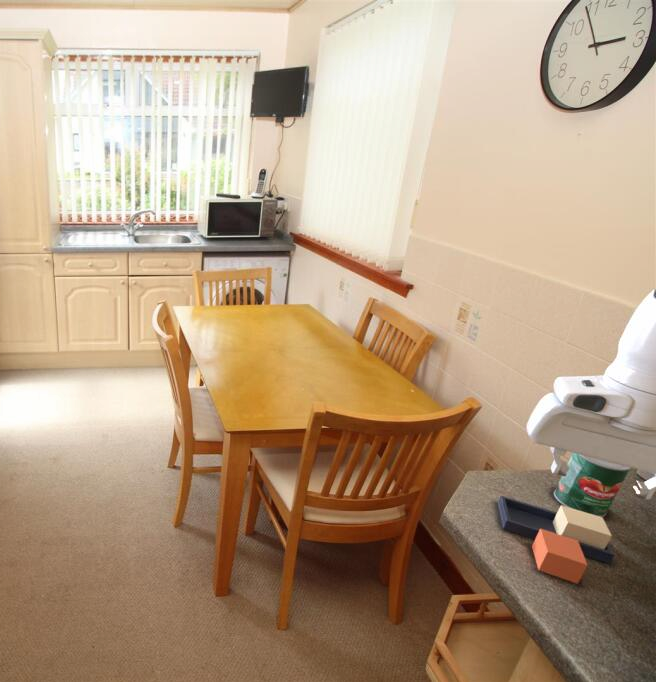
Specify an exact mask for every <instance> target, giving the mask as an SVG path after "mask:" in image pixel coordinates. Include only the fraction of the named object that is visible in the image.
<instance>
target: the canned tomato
mask: <svg viewBox="0 0 656 682" xmlns="http://www.w3.org/2000/svg"><path fill="white" fill-rule="evenodd" d="M567 465H568V466H569V470H568V472H566V476H565V477H564V476H561V477H560V479H559V481H558V484H557V486H556V488H555V490H554V492H553V496H554V498H555V499H556V500H557V502H559V504H561V505H562V506H565V507H569V508H572V509H576V510H579V511H582V512H586V513H589V514H593V515H596V516H599V517H602V518H604V517H605V516H606V515H607V513H608V511H609V509H610V508H611V506H612V504H613V501H614V500H615V498H616V497H617V494H618V492H619V491H620V489H621V487H622V484H623V483H624V481H625V479H626V477H627V476H628V474H629V472H630V470H631V469H632V468H631V467H627V466H623V465H619V464H615V463H612V462H608V461H604V460H600V459H596V458H592V457H588V456H585V455H581V454H577V453H573V452H572V453H571V457H570V458H569V460H568V462H567Z"/></svg>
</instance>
